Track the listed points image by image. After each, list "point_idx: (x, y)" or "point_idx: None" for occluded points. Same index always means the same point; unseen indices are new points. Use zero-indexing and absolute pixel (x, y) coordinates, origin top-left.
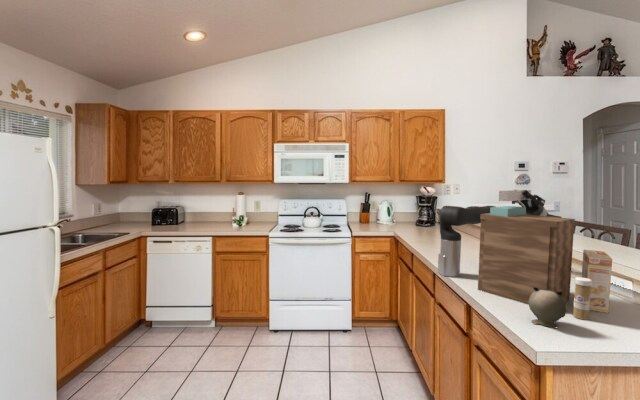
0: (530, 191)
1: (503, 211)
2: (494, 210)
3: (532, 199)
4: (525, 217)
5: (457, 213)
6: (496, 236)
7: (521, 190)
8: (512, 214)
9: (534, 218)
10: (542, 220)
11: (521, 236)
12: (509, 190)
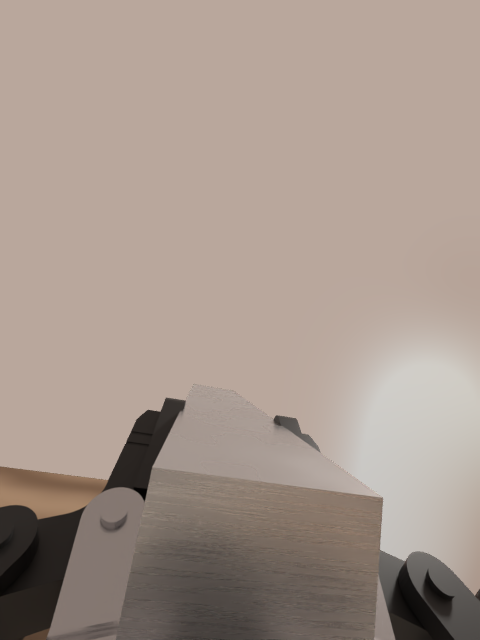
0: (150, 490)
1: None
2: None
3: (35, 630)
4: (74, 498)
5: (477, 592)
6: None
7: (205, 407)
8: None
9: (31, 490)
10: (4, 467)
11: None
12: (246, 401)
